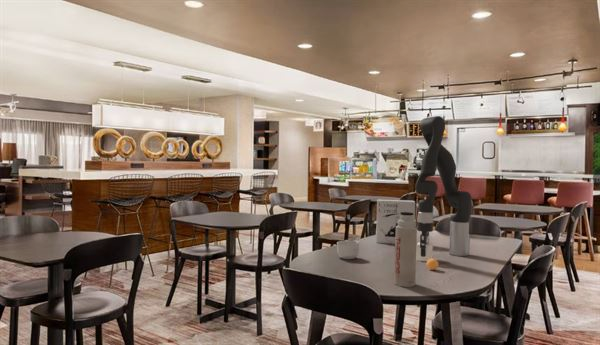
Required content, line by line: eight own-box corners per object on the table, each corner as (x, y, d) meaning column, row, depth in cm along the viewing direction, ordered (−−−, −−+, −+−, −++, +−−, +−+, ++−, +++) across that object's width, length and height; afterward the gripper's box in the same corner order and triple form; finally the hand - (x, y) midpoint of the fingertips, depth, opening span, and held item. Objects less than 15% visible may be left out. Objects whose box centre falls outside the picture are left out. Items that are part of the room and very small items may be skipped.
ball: (433, 268, 204) (433, 257, 204) (440, 270, 200) (440, 259, 200) (424, 269, 202) (424, 257, 202) (431, 271, 198) (431, 260, 198)
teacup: (357, 261, 215) (358, 244, 215) (335, 259, 218) (335, 243, 217) (359, 255, 229) (360, 239, 229) (338, 254, 231) (338, 238, 231)
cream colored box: (432, 259, 224) (432, 243, 224) (430, 261, 217) (431, 245, 217) (418, 257, 226) (418, 242, 226) (416, 260, 220) (416, 244, 220)
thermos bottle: (397, 286, 172) (399, 213, 171) (391, 281, 180) (393, 210, 179) (418, 286, 173) (420, 213, 172) (411, 281, 181) (413, 211, 180)
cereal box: (376, 242, 266) (377, 200, 265) (376, 240, 274) (377, 199, 273) (413, 244, 262) (415, 201, 262) (412, 242, 270) (414, 200, 269)
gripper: (419, 219, 229) (418, 251, 230) (415, 222, 216) (414, 256, 217) (434, 220, 227) (433, 253, 227) (431, 223, 213) (430, 258, 214)
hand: (424, 254), depth 222 cm, fingers closed on cream colored box, 7 cm apart
